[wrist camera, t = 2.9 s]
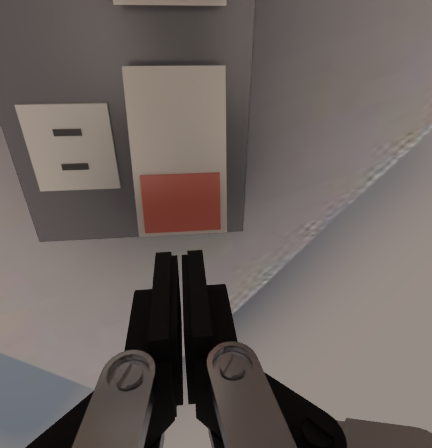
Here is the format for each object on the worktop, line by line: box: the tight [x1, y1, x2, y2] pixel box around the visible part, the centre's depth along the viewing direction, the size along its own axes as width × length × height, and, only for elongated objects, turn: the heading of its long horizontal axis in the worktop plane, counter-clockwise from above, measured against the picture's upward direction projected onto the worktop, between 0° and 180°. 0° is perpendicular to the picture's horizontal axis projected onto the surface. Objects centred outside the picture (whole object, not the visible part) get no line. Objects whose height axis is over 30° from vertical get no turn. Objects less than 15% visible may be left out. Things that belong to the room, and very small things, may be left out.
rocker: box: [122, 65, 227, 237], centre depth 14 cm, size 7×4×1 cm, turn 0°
